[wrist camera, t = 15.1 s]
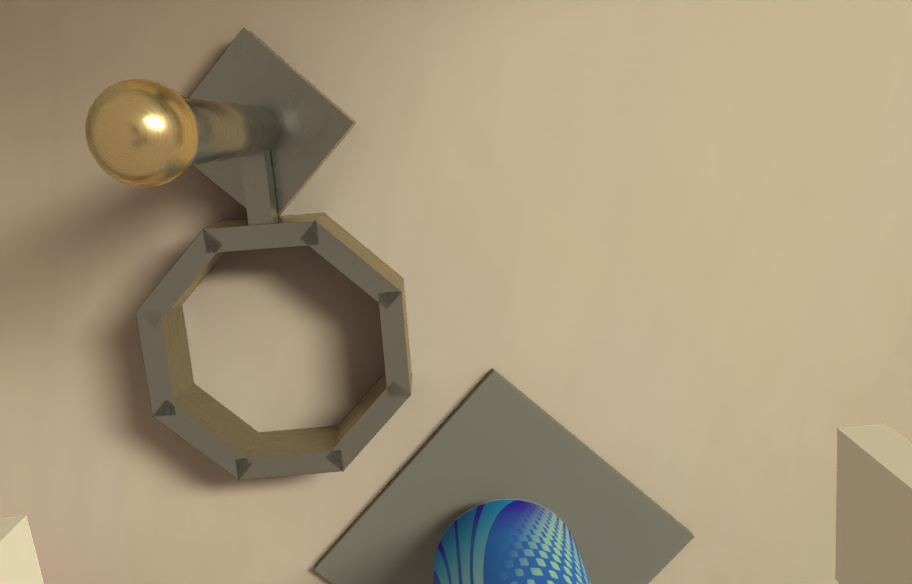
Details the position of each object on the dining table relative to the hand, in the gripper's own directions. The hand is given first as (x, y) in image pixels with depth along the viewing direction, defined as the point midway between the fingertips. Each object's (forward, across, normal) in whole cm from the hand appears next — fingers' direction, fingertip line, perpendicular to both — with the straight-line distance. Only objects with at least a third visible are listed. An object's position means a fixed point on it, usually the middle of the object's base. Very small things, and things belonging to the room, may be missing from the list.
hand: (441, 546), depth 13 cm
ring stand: (+31, -9, -1) cm, 32 cm away
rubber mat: (+31, +2, -19) cm, 36 cm away
